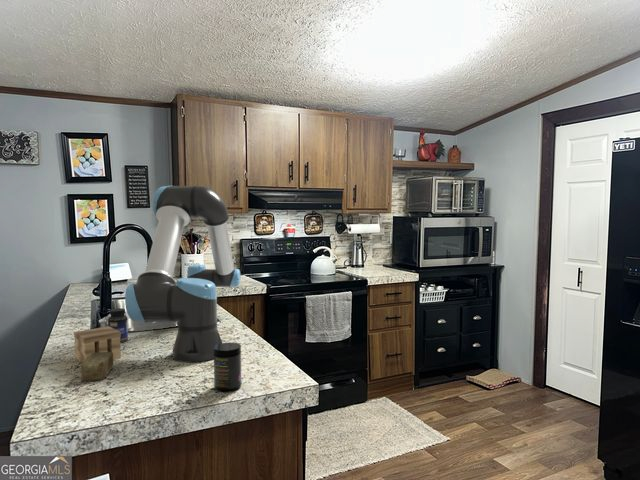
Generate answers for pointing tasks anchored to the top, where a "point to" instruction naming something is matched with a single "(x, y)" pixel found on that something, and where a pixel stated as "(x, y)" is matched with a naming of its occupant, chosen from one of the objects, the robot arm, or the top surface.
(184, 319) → the robot arm
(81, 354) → the block
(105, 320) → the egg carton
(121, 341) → the pill bottle
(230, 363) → the supplement container
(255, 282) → the top surface
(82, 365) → the stone block
